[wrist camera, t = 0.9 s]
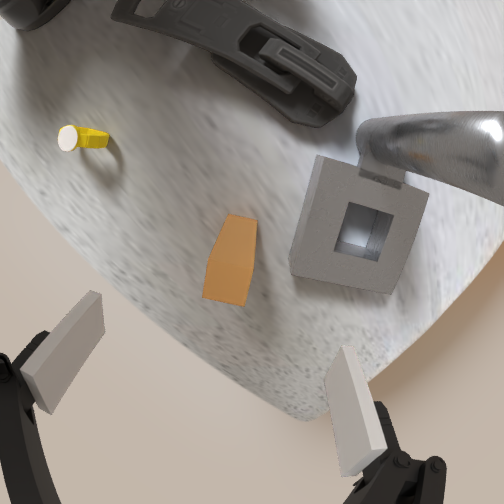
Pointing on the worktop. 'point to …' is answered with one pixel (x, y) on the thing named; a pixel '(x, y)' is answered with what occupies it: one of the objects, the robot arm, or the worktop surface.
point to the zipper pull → (257, 55)
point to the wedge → (231, 262)
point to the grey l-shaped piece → (393, 191)
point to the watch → (81, 138)
